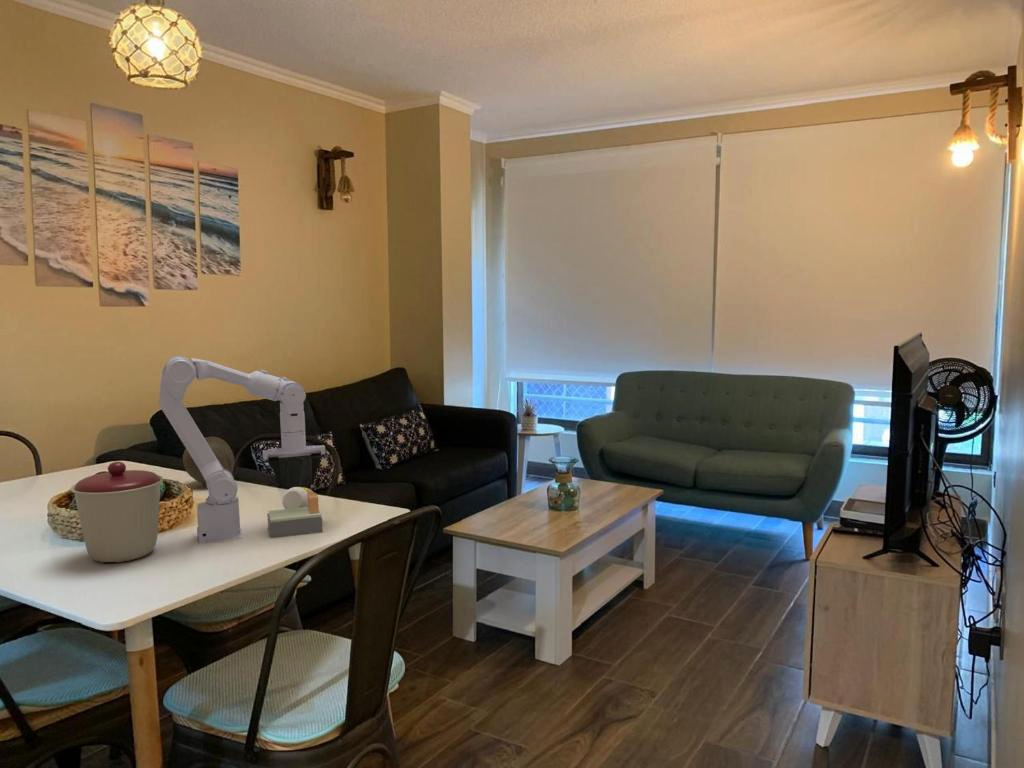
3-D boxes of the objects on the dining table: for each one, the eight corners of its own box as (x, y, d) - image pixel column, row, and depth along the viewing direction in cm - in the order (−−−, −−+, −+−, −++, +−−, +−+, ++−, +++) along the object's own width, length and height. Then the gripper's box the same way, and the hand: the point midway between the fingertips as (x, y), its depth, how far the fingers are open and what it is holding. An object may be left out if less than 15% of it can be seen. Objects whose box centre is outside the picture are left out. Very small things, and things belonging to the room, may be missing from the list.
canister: (83, 548, 175) (76, 457, 172) (170, 538, 181) (164, 451, 179) (69, 574, 158) (61, 474, 156) (165, 563, 164) (158, 466, 162)
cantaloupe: (225, 477, 243) (222, 431, 241) (242, 485, 232) (239, 436, 231) (179, 485, 234) (176, 436, 233) (193, 493, 223) (190, 443, 222)
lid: (270, 522, 179) (269, 504, 178) (268, 513, 187) (267, 495, 186) (320, 516, 183) (319, 498, 182) (316, 508, 191) (315, 490, 190)
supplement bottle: (317, 510, 202) (307, 512, 189) (292, 514, 201) (280, 516, 188) (315, 485, 203) (304, 485, 190) (289, 489, 202) (277, 489, 189)
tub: (270, 540, 179) (269, 523, 178) (268, 529, 187) (267, 513, 187) (322, 533, 183) (322, 517, 183) (318, 523, 191) (317, 508, 191)
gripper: (321, 425, 192) (324, 478, 194) (260, 430, 187) (264, 485, 189) (325, 430, 186) (328, 485, 187) (262, 435, 181) (265, 491, 182)
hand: (296, 485), depth 187 cm, fingers open, 7 cm apart
